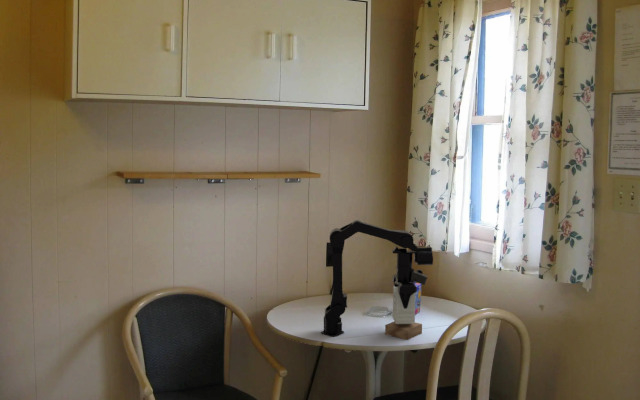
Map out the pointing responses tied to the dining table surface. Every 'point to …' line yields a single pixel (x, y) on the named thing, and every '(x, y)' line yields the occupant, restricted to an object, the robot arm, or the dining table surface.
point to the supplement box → (399, 312)
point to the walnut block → (403, 330)
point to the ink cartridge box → (417, 297)
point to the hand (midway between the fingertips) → (403, 305)
